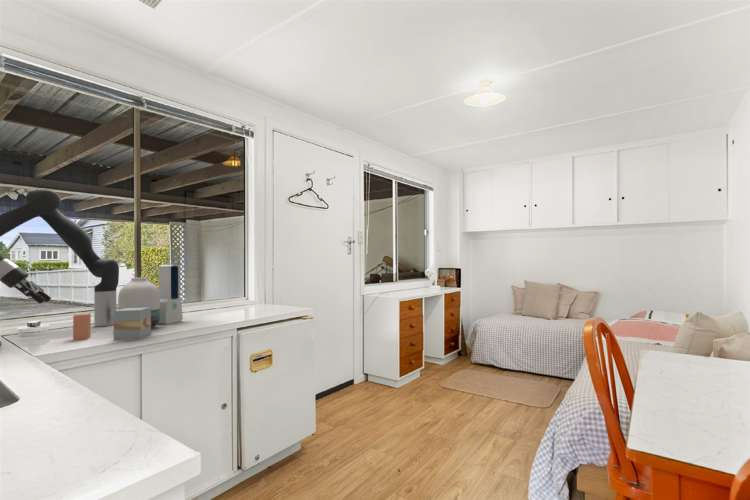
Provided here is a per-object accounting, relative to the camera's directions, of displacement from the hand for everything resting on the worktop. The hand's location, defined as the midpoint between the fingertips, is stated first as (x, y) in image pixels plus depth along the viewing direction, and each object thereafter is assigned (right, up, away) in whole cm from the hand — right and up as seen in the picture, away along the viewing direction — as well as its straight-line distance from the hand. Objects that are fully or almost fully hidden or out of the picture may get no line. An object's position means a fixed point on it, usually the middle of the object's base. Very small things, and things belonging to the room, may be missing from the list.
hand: (46, 301), depth 155 cm
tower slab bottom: (+31, -16, +7) cm, 35 cm away
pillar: (+11, -16, +5) cm, 20 cm away
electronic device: (+25, -17, +44) cm, 54 cm away
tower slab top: (+30, -8, +7) cm, 32 cm away
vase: (+21, -17, +28) cm, 38 cm away
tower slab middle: (+31, -12, +7) cm, 34 cm away
